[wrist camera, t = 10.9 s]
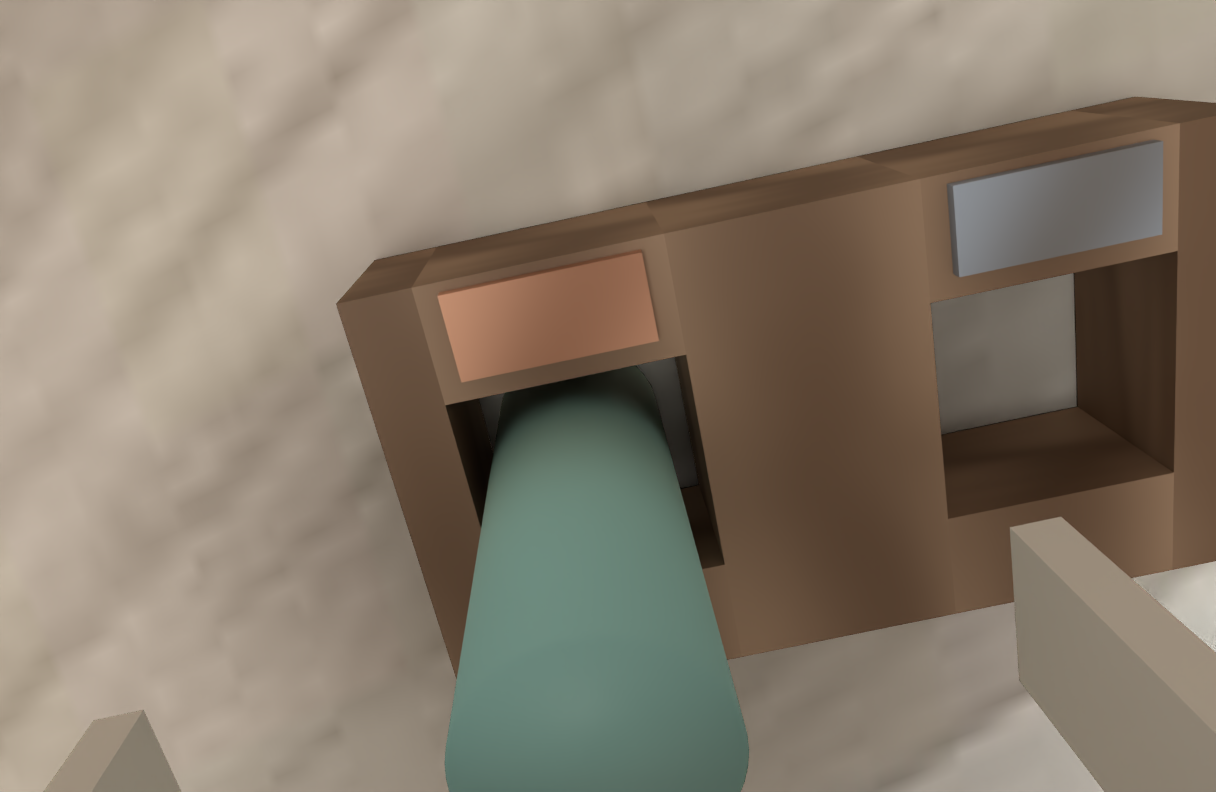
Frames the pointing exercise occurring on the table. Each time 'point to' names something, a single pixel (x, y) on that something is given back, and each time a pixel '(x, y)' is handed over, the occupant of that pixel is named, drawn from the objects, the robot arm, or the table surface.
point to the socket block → (840, 366)
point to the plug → (590, 610)
